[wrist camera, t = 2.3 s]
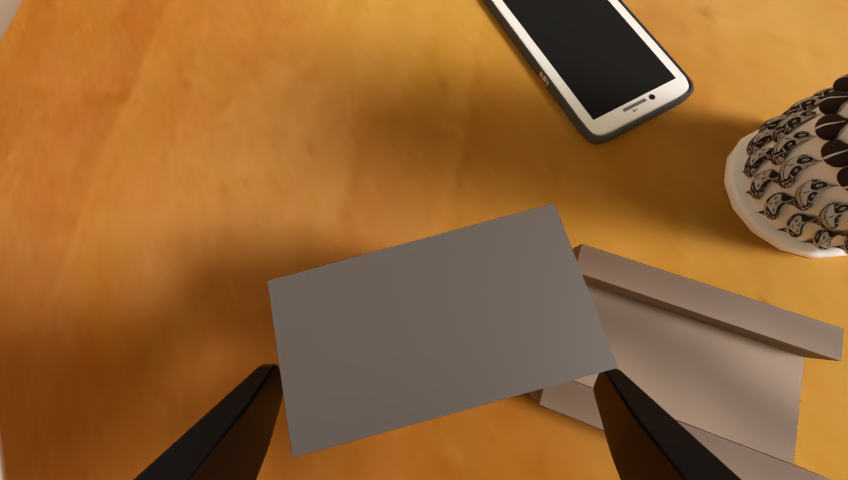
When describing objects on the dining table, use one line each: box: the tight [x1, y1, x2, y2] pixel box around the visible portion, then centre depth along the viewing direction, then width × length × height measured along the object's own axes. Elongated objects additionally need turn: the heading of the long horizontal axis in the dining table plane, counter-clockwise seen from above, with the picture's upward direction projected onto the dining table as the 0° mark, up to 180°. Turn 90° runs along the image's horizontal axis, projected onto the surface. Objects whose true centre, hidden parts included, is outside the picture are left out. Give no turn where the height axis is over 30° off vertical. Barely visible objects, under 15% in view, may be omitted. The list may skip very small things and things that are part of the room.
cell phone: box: [484, 0, 694, 144], centre depth 22 cm, size 8×15×1 cm, turn 27°
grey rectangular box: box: [267, 203, 618, 458], centre depth 12 cm, size 4×6×12 cm, turn 105°
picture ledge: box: [527, 244, 844, 480], centre depth 16 cm, size 8×12×2 cm, turn 70°
